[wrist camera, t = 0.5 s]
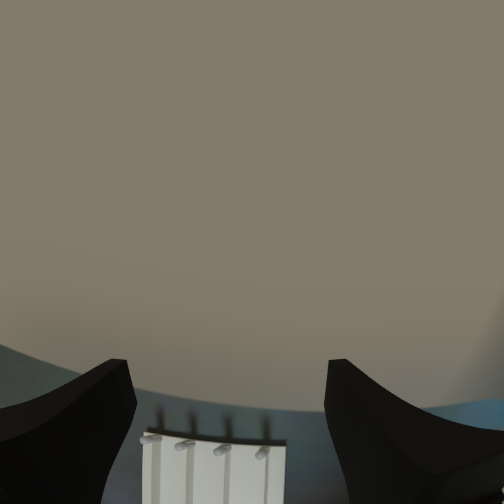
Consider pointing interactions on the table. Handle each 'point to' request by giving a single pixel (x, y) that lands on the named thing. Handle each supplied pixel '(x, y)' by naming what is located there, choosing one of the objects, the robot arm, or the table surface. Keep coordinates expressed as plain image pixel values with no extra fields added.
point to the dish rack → (210, 472)
